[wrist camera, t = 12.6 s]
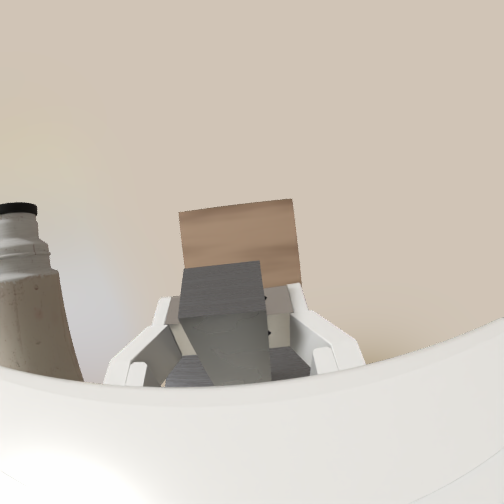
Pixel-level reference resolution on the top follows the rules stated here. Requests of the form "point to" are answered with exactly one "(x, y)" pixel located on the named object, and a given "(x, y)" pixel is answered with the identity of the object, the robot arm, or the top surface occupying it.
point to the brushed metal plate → (229, 330)
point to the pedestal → (244, 238)
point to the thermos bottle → (31, 300)
